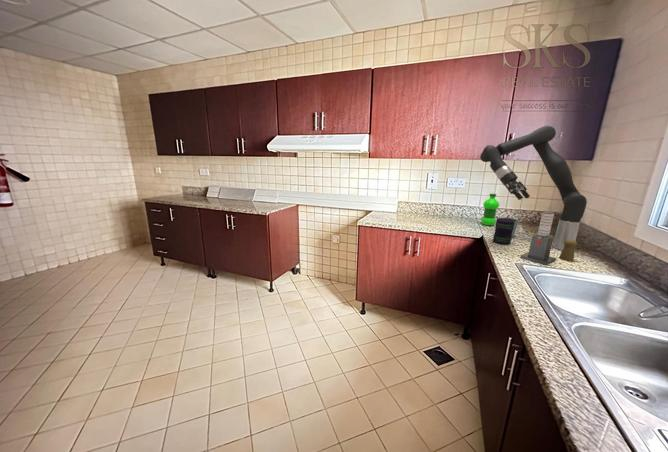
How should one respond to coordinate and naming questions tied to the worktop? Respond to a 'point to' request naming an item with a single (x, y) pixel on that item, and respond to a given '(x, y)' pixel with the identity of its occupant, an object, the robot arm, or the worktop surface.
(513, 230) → the drinking glass
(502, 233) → the storage jar
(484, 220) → the plastic bottle
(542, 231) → the column
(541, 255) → the stand base
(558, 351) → the worktop surface
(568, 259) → the cork
